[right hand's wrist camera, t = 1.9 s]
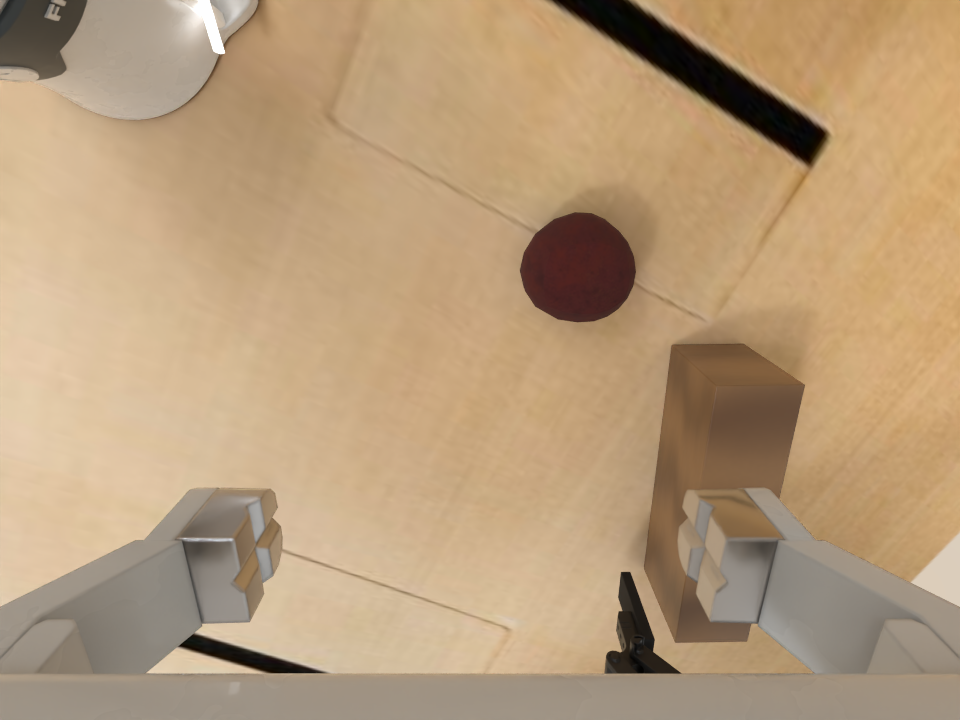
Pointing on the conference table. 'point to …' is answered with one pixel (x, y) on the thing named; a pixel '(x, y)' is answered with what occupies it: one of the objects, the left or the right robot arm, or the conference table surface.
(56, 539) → the conference table surface
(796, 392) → the block
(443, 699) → the right robot arm
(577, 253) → the dark maroon ball
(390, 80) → the conference table surface
